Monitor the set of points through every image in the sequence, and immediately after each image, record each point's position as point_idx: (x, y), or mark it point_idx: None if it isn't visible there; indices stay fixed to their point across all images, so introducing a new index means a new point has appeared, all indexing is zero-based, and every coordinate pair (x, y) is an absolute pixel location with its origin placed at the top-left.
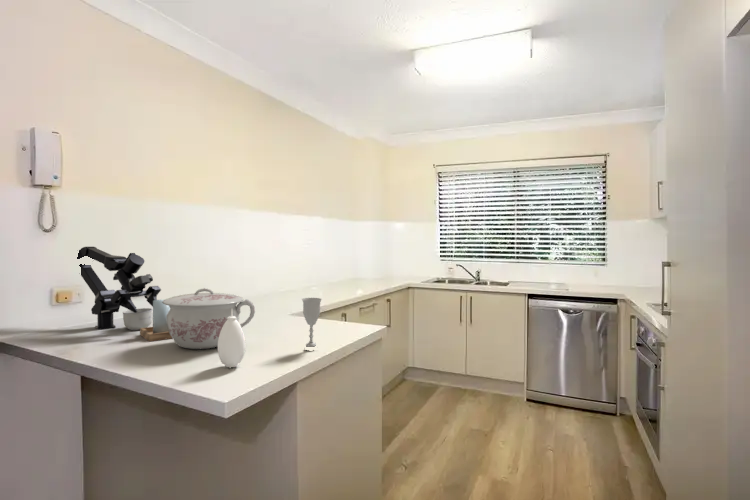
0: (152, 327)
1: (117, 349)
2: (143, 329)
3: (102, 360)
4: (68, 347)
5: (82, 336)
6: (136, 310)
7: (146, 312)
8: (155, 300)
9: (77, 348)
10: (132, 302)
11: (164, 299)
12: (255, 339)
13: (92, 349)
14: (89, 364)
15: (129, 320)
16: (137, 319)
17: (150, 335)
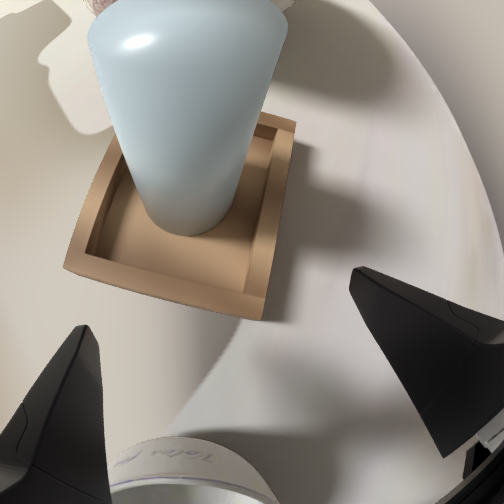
0: (191, 282)
1: (397, 142)
2: (263, 263)
3: (425, 95)
4: (482, 293)
5: (420, 453)
6: (365, 269)
7: (149, 475)
8: (236, 44)
9: (471, 258)
10: (446, 319)
11: (99, 50)
12: (82, 5)
13: (447, 206)
14: (441, 97)
15: (266, 484)
16: (225, 460)
17: (290, 122)
